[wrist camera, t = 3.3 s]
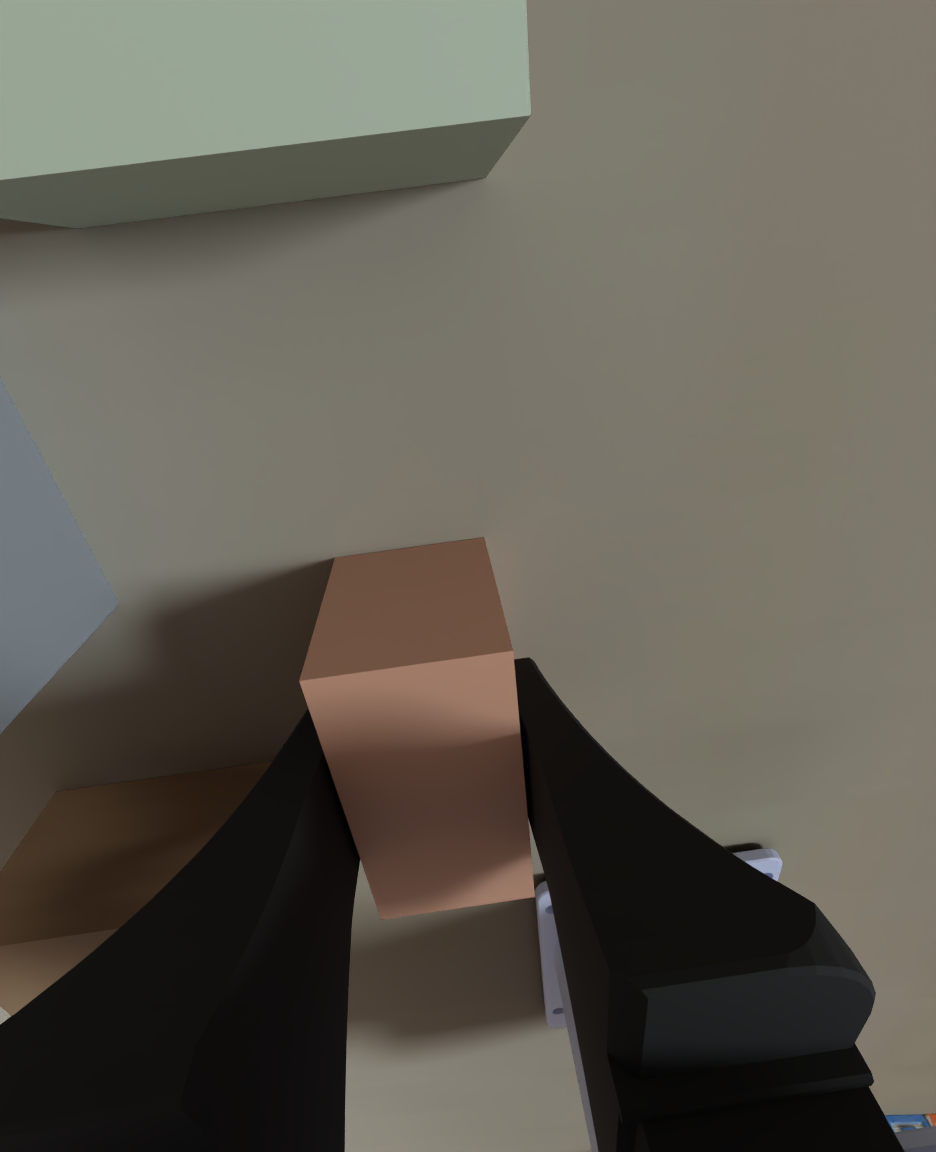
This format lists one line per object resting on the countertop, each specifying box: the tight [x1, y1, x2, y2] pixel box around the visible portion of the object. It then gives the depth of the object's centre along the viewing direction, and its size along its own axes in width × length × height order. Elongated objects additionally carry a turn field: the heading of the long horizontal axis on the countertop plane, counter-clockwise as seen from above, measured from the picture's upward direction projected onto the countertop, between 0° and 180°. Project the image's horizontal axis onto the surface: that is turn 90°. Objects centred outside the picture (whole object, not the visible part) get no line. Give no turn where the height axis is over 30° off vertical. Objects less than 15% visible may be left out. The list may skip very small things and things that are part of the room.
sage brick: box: [0, 0, 531, 229], centre depth 6 cm, size 6×3×4 cm, turn 96°
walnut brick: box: [0, 761, 272, 1016], centre depth 13 cm, size 6×3×4 cm, turn 96°
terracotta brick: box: [299, 537, 535, 920], centre depth 11 cm, size 6×3×4 cm, turn 6°
